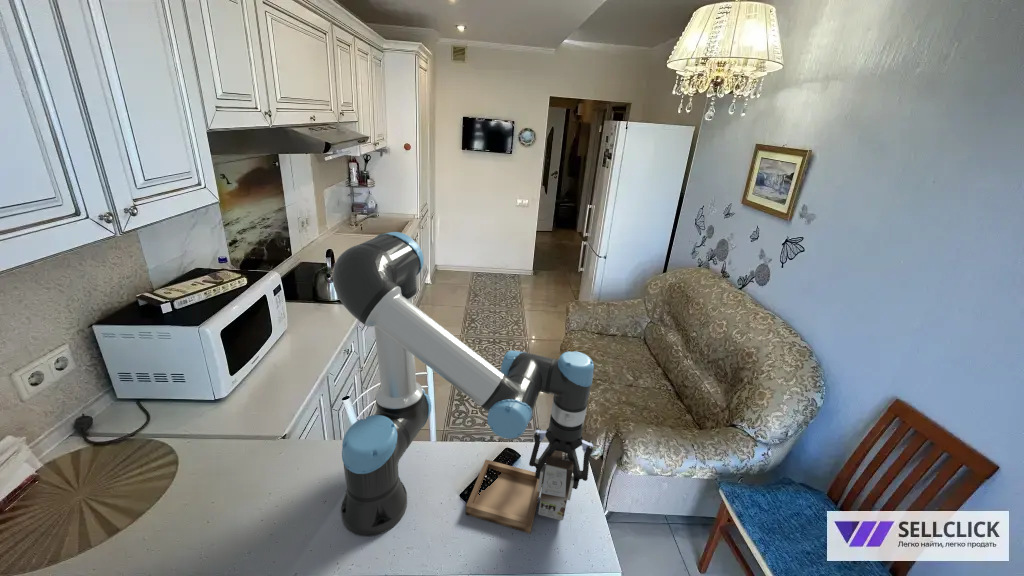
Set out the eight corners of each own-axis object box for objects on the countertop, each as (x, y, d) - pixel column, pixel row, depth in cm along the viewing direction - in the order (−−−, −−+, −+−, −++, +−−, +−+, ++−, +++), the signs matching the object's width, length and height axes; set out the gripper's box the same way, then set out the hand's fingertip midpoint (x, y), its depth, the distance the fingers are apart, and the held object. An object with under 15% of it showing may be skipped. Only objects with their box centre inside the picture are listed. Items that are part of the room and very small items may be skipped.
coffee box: (563, 521, 97) (573, 471, 90) (537, 515, 98) (545, 464, 91) (566, 490, 105) (575, 442, 99) (542, 484, 106) (549, 436, 100)
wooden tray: (465, 514, 99) (465, 505, 97) (485, 467, 112) (485, 459, 111) (530, 533, 95) (531, 524, 94) (542, 482, 109) (543, 474, 108)
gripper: (521, 417, 89) (512, 492, 98) (611, 439, 85) (593, 516, 94) (528, 397, 96) (519, 469, 105) (612, 416, 92) (595, 490, 101)
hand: (554, 491), depth 99 cm, fingers closed on coffee box, 7 cm apart
